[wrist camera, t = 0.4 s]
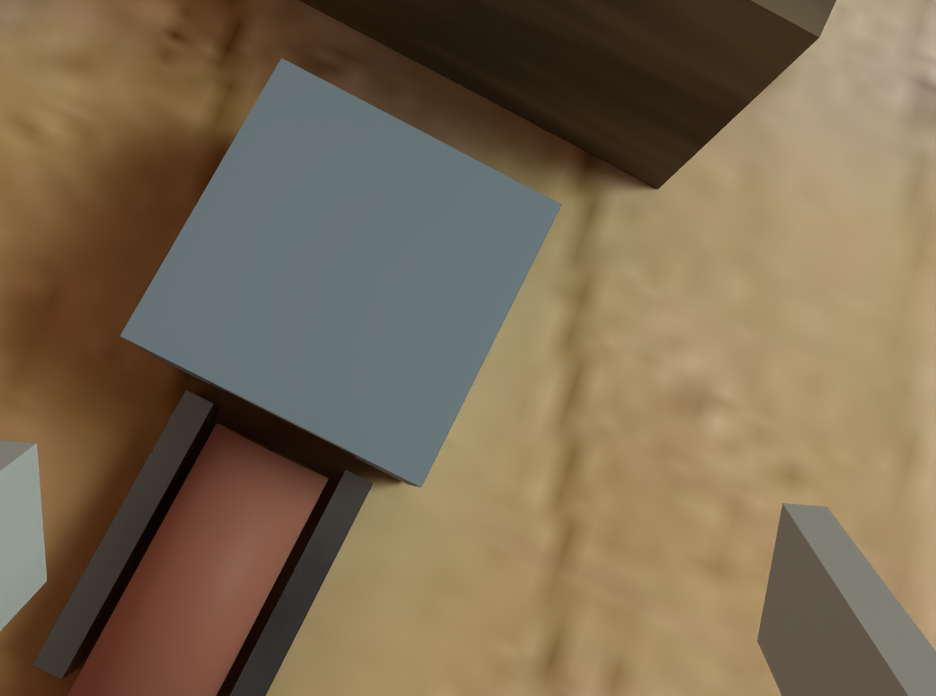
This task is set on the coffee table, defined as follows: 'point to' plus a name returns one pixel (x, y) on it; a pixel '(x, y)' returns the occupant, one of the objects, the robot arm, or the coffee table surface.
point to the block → (344, 273)
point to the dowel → (204, 573)
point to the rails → (137, 527)
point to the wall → (603, 63)
